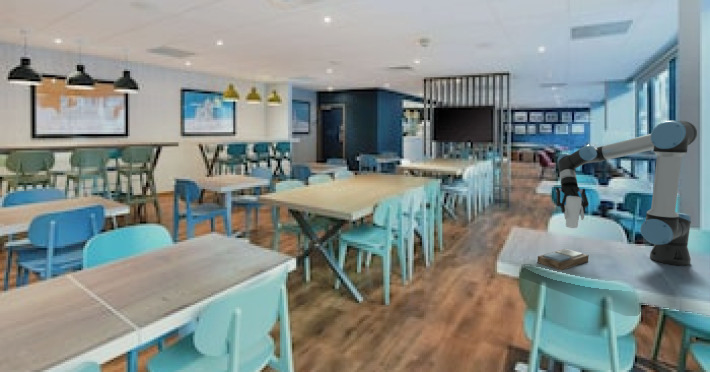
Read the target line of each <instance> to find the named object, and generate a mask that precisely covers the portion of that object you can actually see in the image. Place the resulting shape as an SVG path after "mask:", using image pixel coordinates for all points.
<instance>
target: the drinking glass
mask: <svg viewBox="0 0 710 372" xmlns="http://www.w3.org/2000/svg"><path fill="white" fill-rule="evenodd" d="M582 201H583V200H582V197H581V196H580V197H576V196H567V197H566V201H565V205H566V207H567V213H568V217H567V219H565V227H567V228H570V229H577V228H578V226H579V221H580V220H579V219H580V210H581V203H582Z"/></svg>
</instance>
